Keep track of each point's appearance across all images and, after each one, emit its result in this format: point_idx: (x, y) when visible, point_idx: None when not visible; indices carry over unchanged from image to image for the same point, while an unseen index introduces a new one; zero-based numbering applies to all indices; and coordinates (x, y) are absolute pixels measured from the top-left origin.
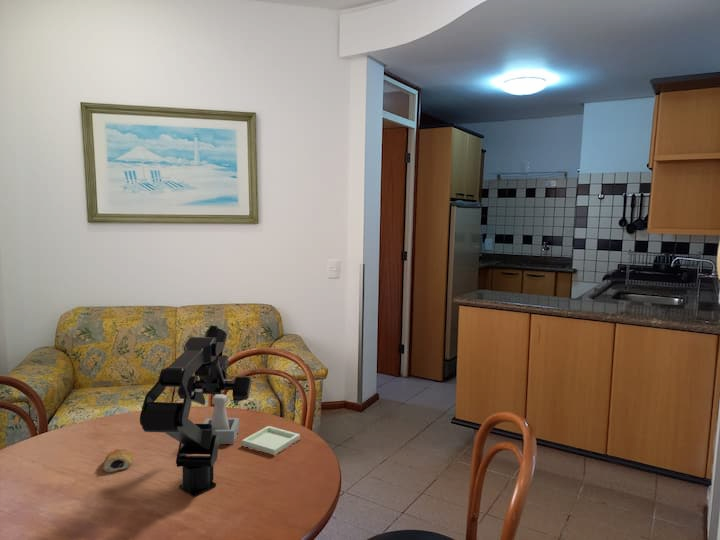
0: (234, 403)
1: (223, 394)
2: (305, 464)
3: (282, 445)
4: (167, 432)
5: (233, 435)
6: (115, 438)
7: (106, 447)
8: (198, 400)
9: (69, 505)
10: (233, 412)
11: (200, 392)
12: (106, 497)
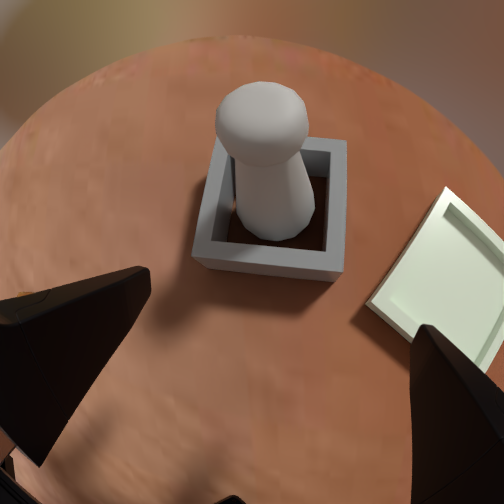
0: (413, 437)
1: (281, 87)
2: None
3: (494, 355)
4: None
5: (338, 276)
6: (31, 198)
7: (17, 243)
8: (74, 402)
9: (23, 470)
10: (301, 58)
11: (41, 347)
12: (57, 479)
